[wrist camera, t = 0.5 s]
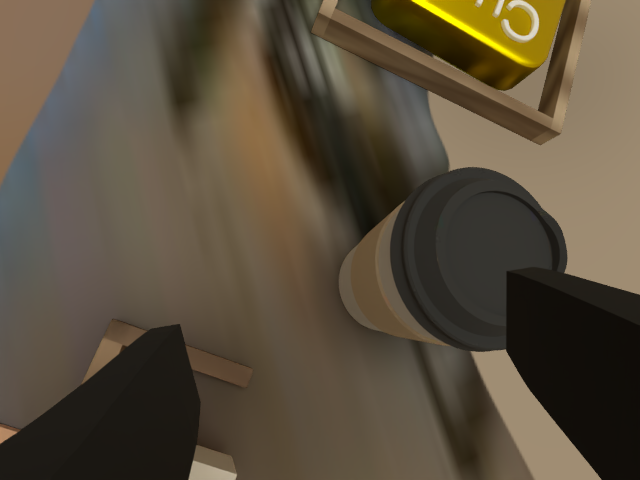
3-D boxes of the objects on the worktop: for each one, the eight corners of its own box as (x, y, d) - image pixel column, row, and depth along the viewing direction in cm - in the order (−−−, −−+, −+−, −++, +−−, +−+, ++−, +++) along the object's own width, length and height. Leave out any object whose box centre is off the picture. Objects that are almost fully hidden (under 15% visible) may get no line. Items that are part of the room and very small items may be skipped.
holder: (181, 550, 29) (180, 564, 27) (29, 507, 27) (17, 518, 26) (250, 367, 32) (253, 369, 30) (116, 319, 30) (111, 318, 29)
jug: (241, 418, 31) (253, 440, 25) (211, 498, 30) (216, 544, 23) (128, 380, 30) (109, 393, 23) (92, 461, 29) (60, 499, 22)
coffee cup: (331, 354, 33) (432, 368, 19) (315, 229, 35) (397, 156, 21) (445, 337, 36) (609, 338, 22) (426, 221, 37) (567, 150, 23)
